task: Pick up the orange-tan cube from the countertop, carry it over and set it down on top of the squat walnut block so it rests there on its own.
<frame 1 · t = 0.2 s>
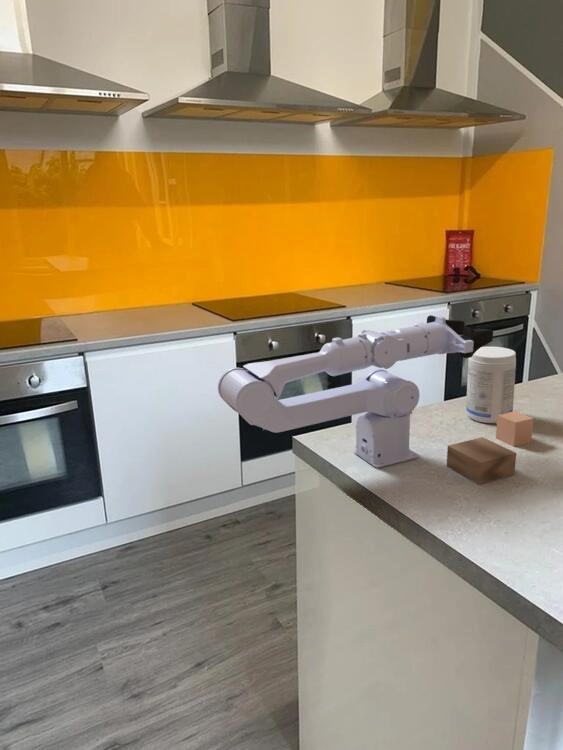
hand: (476, 330, 111), 21 cm above the worktop, tool horizontal, fingers open, 7 cm apart
walnut block: (479, 470, 102), on the worktop
orange-tan cube: (513, 440, 114), on the worktop
supplement tub: (488, 417, 127), on the worktop
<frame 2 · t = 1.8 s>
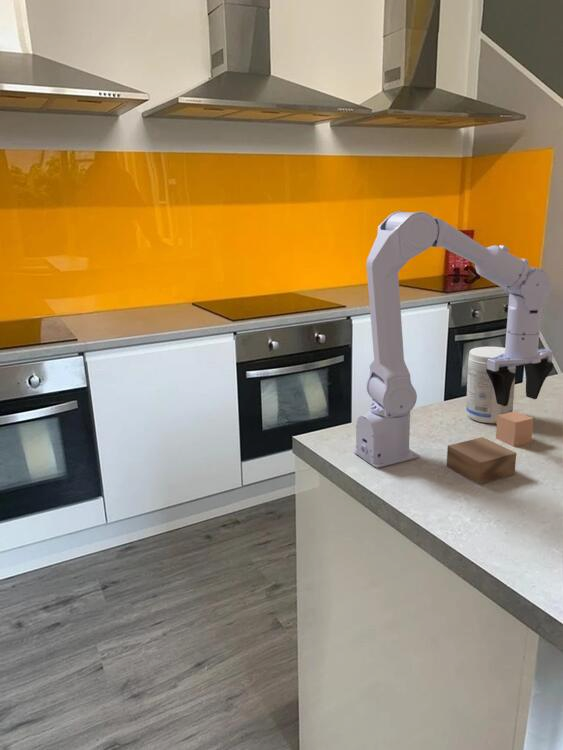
hand: (516, 401, 112), 8 cm above the worktop, tool pointing down, fingers open, 7 cm apart
nothing on the worktop moved.
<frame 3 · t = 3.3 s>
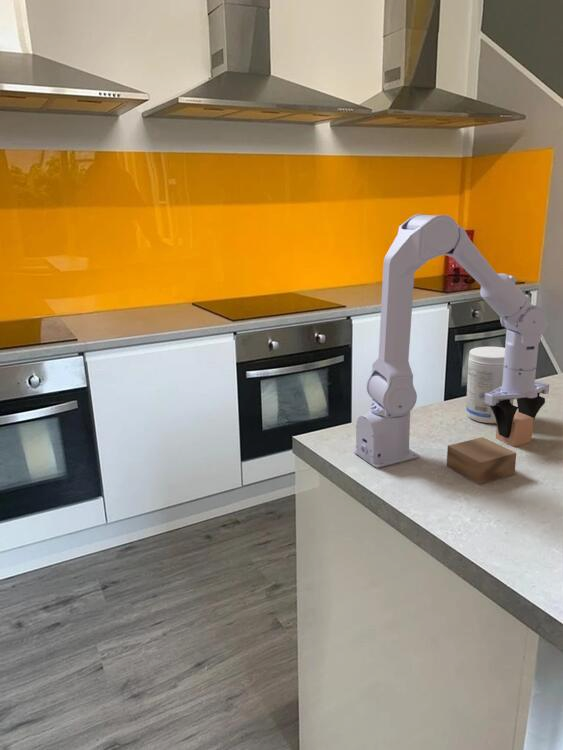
hand: (513, 433, 114), 1 cm above the worktop, tool pointing down, fingers closed on orange-tan cube, 5 cm apart
orange-tan cube: (513, 440, 114), on the worktop, touching gripper
everything else where it was.
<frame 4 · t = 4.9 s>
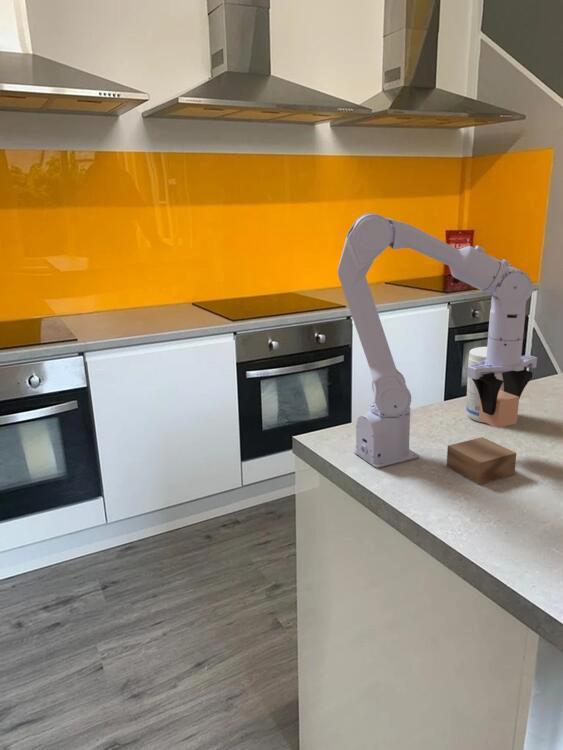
hand: (499, 410, 105), 9 cm above the worktop, tool pointing down, fingers closed on orange-tan cube, 5 cm apart
orange-tan cube: (497, 421, 106), point 7 cm above the worktop, touching gripper
everything else where it was.
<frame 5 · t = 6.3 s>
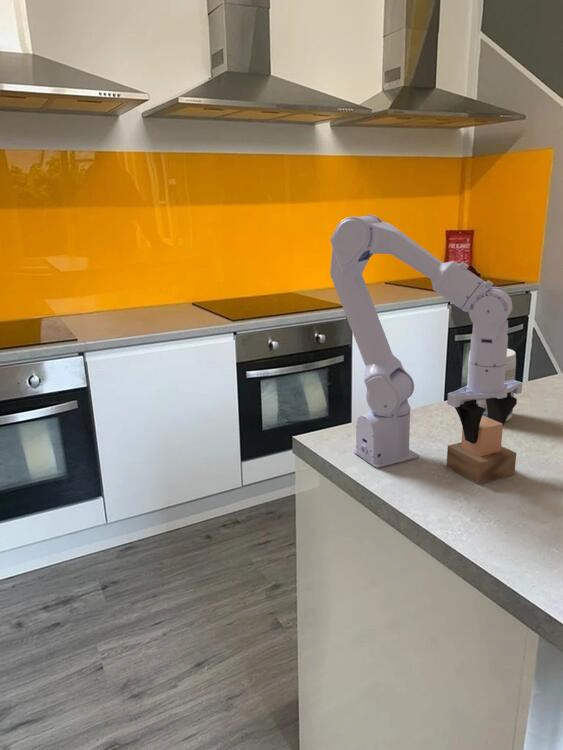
hand: (482, 438, 101), 6 cm above the worktop, tool pointing down, fingers closed on orange-tan cube, 5 cm apart
orange-tan cube: (480, 448, 101), point 4 cm above the worktop, touching gripper, walnut block
everything else where it was.
when the fingers open (6 cm above the worktop, at t = 6.9 s): orange-tan cube stays where it is, resting on walnut block.
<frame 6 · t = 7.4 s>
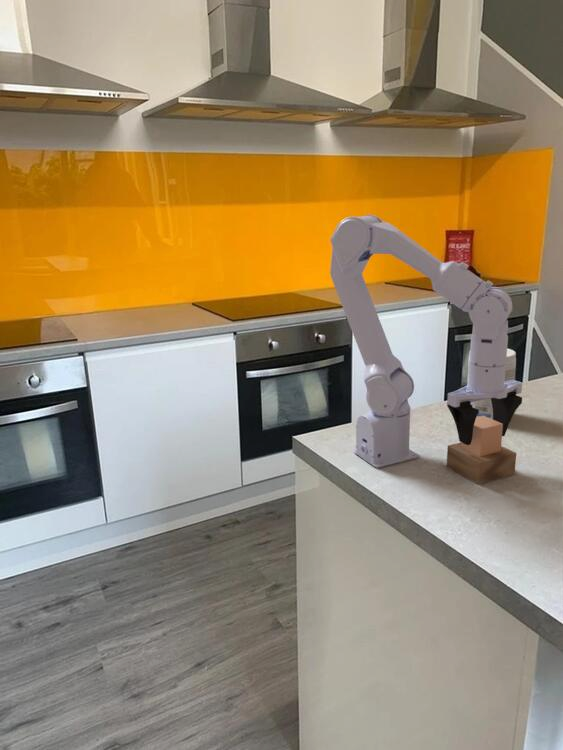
hand: (482, 438, 101), 6 cm above the worktop, tool pointing down, fingers open, 7 cm apart
orange-tan cube: (480, 448, 101), point 4 cm above the worktop, touching walnut block
everything else where it was.
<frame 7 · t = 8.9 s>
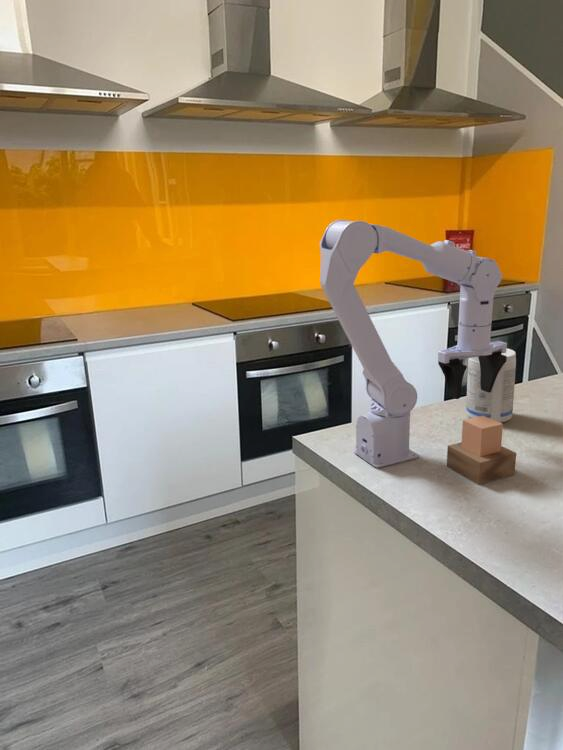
hand: (470, 394, 110), 10 cm above the worktop, tool pointing down, fingers open, 7 cm apart
nothing on the worktop moved.
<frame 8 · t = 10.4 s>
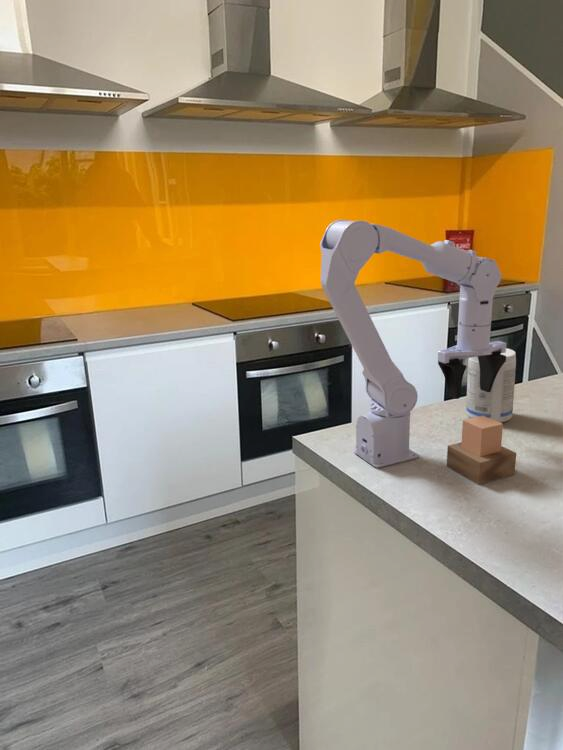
hand: (469, 394, 110), 10 cm above the worktop, tool pointing down, fingers open, 7 cm apart
nothing on the worktop moved.
at the end: orange-tan cube 0.2 cm off-centre on the walnut block, point 4.0 cm above the walnut block's base; orange-tan cube tilted 0°; the gripper is holding nothing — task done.
